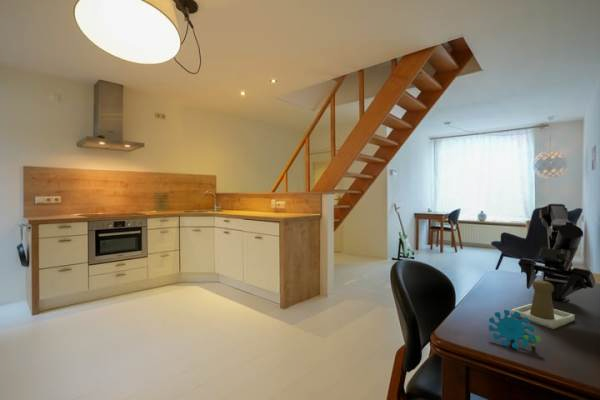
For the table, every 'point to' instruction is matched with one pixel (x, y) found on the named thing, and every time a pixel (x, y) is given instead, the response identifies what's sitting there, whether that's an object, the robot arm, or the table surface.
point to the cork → (542, 300)
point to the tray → (559, 320)
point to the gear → (513, 330)
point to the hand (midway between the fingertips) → (544, 292)
